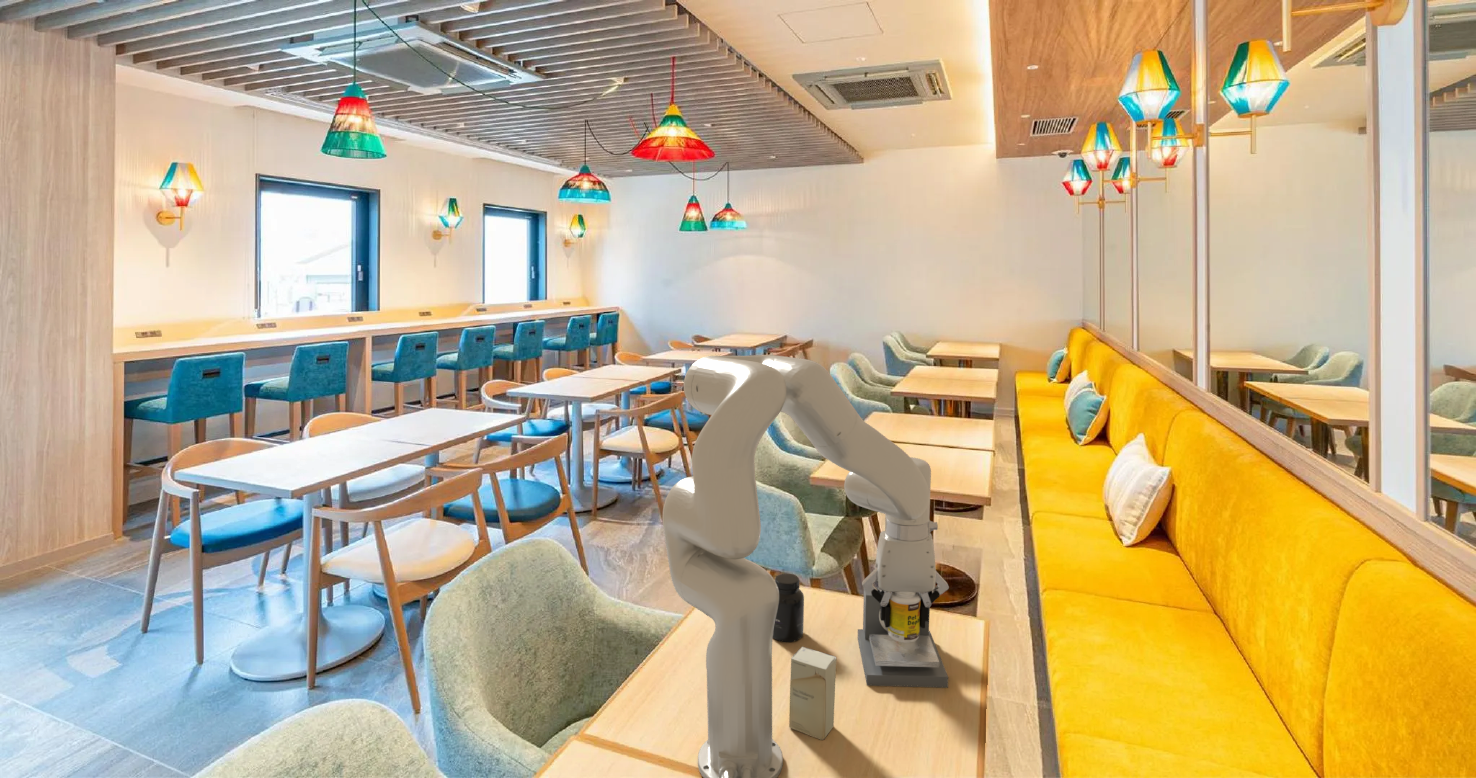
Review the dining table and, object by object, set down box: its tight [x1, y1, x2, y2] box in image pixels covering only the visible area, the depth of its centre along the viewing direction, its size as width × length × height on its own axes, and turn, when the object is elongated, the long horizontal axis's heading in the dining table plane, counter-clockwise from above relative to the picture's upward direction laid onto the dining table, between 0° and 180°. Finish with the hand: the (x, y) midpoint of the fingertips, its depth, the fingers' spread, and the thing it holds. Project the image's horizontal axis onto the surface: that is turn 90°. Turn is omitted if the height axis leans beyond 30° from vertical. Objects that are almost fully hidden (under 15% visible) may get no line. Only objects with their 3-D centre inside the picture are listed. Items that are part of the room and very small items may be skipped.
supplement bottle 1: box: [773, 573, 805, 643], centre depth 142 cm, size 7×7×12 cm
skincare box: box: [788, 646, 837, 741], centre depth 113 cm, size 6×4×12 cm
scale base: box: [857, 586, 949, 689], centre depth 132 cm, size 16×14×11 cm
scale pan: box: [870, 634, 939, 667], centre depth 129 cm, size 9×11×2 cm
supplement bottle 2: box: [888, 592, 921, 643], centre depth 128 cm, size 6×6×10 cm
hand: (903, 623), depth 128 cm, fingers closed on supplement bottle 2, 5 cm apart
